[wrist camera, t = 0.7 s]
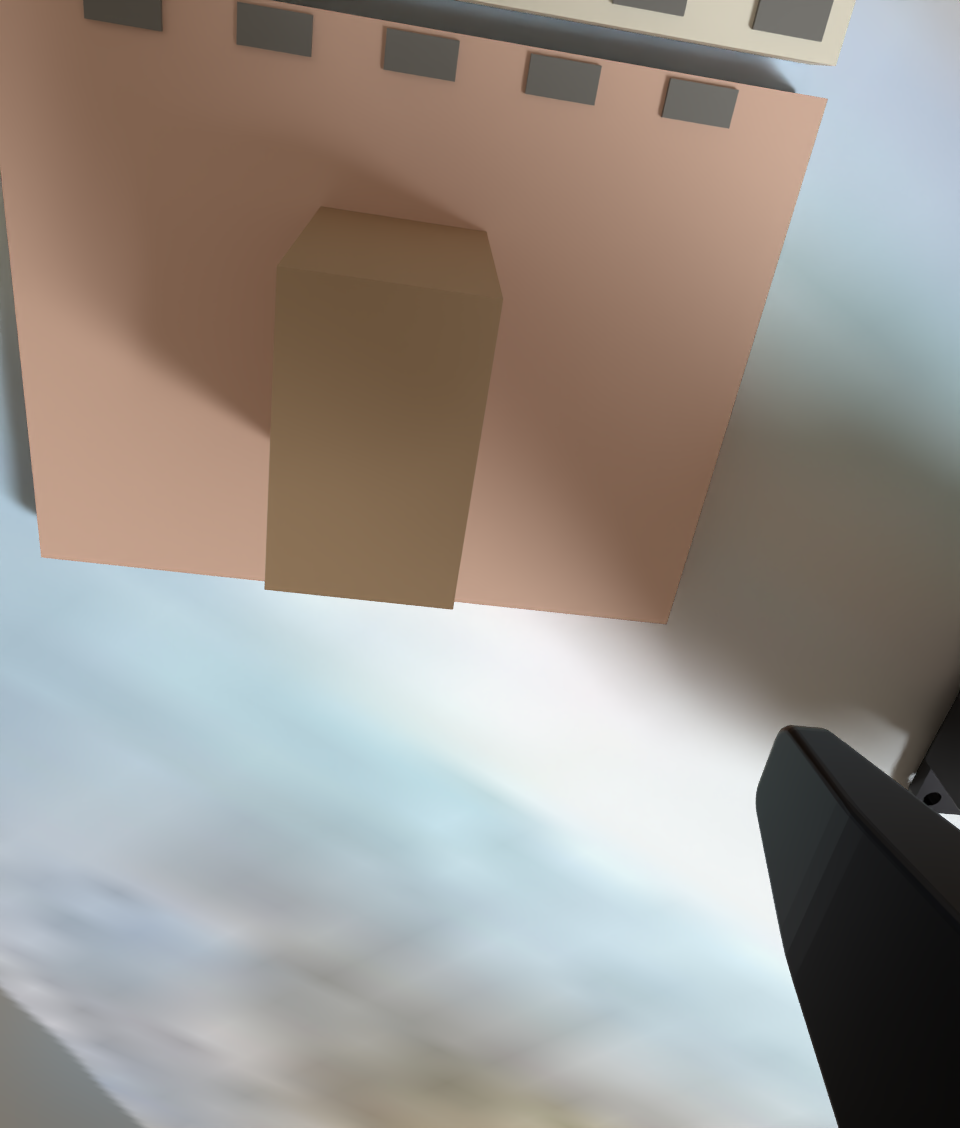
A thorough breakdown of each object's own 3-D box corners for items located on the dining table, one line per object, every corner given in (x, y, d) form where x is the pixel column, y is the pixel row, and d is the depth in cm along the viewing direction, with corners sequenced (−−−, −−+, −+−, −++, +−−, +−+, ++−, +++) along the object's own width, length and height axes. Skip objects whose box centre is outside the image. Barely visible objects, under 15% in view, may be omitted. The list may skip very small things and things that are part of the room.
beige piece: (803, 95, 16) (978, 119, 11) (655, 597, 22) (726, 776, 16) (9, -46, 15) (-233, -97, 10) (61, 531, 20) (-74, 705, 15)
